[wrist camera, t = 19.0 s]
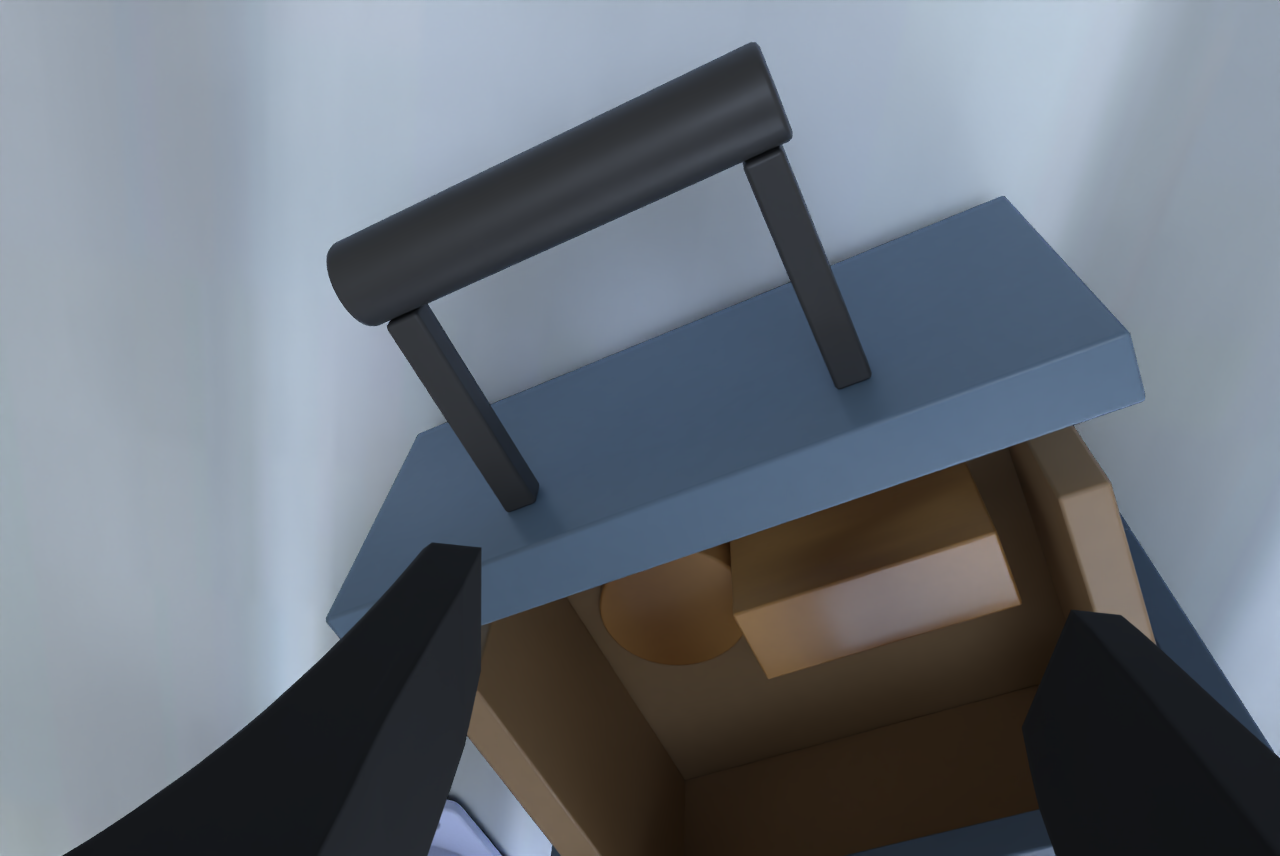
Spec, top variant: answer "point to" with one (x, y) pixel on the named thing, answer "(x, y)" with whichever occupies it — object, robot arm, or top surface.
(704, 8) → the top surface
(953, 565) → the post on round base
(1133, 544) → the cabinet
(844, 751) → the drawer
